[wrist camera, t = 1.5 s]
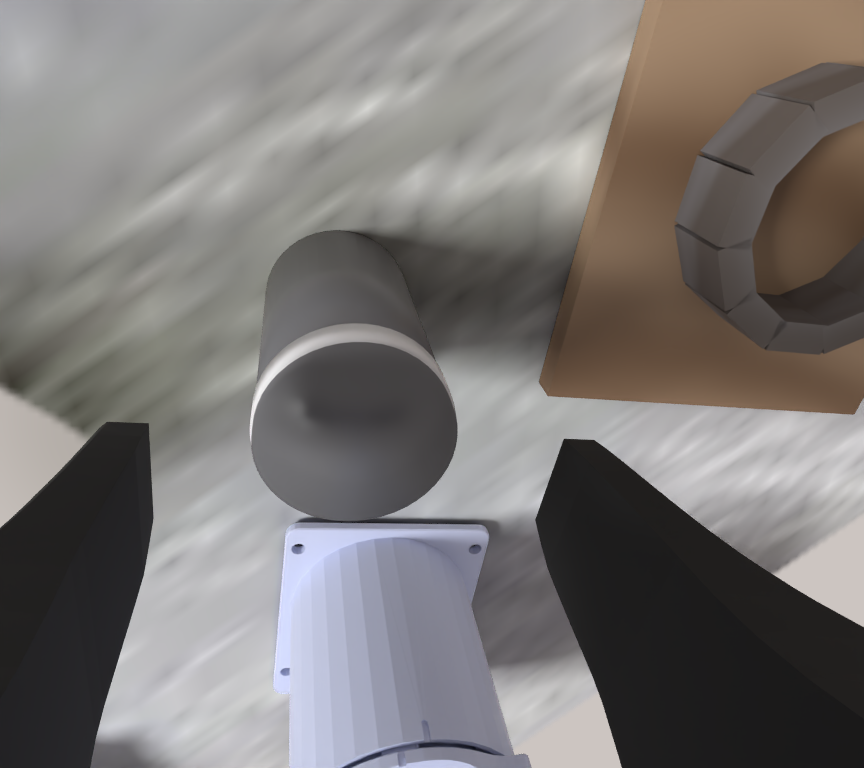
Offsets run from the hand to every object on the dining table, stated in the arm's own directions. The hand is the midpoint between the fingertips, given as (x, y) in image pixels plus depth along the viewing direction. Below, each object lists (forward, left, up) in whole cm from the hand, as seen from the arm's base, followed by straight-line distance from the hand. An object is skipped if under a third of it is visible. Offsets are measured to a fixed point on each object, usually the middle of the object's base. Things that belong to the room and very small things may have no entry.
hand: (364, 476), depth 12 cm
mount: (+4, -14, -10) cm, 18 cm away
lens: (-1, 0, -11) cm, 11 cm away
